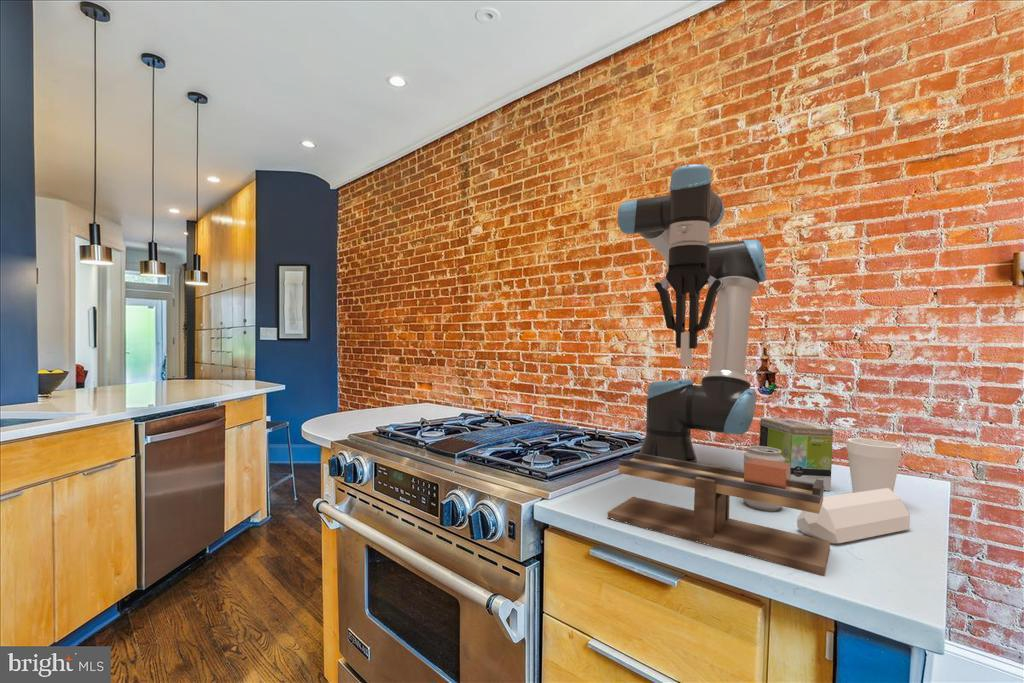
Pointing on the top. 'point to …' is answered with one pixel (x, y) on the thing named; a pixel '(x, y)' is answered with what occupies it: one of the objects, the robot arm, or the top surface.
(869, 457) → the foam cup
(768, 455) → the can
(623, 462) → the beam
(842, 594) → the top surface
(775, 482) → the terracotta wooden block
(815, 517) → the crystal
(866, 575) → the top surface
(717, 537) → the stand
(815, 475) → the tea box
